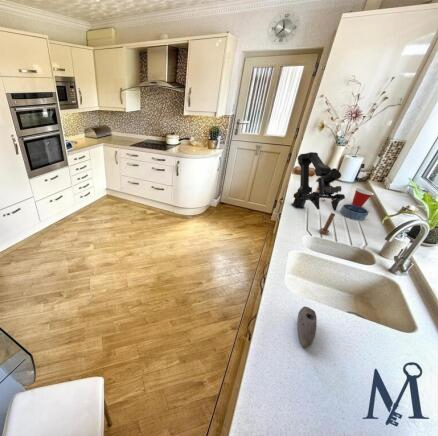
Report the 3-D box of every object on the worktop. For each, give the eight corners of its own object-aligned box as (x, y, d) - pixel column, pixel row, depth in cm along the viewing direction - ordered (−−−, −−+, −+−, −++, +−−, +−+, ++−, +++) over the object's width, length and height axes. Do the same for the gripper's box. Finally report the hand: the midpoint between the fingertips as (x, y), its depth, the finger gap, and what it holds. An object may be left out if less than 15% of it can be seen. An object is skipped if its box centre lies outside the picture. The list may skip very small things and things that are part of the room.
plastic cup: (369, 209, 169) (378, 194, 163) (352, 207, 171) (360, 192, 165) (360, 203, 178) (368, 188, 172) (345, 201, 180) (352, 187, 174)
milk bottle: (323, 197, 185) (334, 173, 174) (324, 201, 178) (336, 176, 168) (311, 195, 187) (322, 172, 177) (313, 199, 181) (324, 174, 171)
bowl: (349, 220, 154) (353, 213, 152) (334, 210, 167) (337, 203, 164) (370, 220, 155) (374, 214, 152) (354, 210, 167) (357, 204, 164)
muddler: (322, 234, 137) (331, 215, 131) (317, 230, 141) (326, 211, 134) (329, 235, 137) (339, 216, 131) (324, 230, 141) (334, 212, 135)
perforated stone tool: (310, 356, 74) (319, 344, 71) (292, 347, 76) (300, 334, 73) (311, 322, 85) (319, 309, 82) (295, 315, 88) (302, 302, 84)
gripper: (316, 179, 135) (319, 204, 131) (350, 181, 134) (354, 207, 130) (305, 186, 146) (307, 210, 142) (336, 189, 144) (339, 213, 140)
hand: (326, 210), depth 138 cm, fingers open, 9 cm apart
